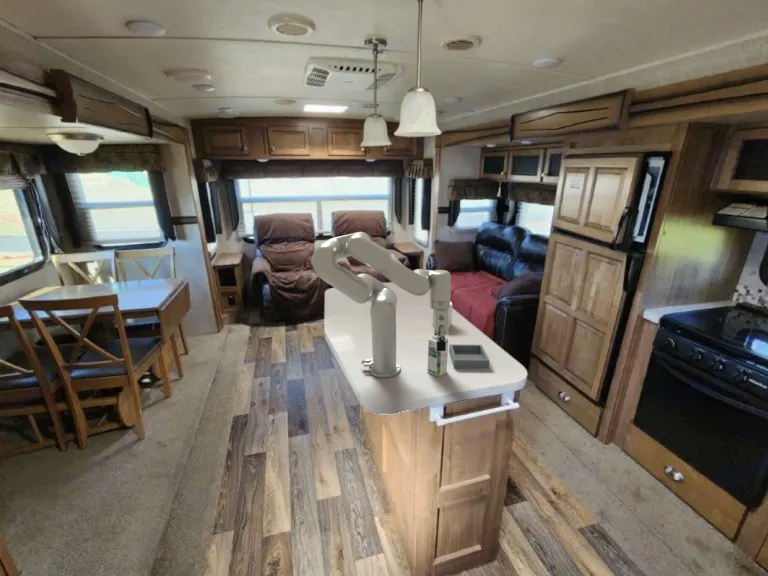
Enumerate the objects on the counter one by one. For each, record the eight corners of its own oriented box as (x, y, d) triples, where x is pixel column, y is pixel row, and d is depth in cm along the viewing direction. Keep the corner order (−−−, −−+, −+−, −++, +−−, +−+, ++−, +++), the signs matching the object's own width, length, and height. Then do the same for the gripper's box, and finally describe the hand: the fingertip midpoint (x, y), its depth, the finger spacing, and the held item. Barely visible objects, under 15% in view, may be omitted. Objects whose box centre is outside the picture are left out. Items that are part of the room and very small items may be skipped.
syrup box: (426, 372, 139) (427, 338, 135) (435, 366, 143) (437, 334, 138) (438, 377, 135) (439, 343, 131) (447, 371, 139) (448, 338, 135)
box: (453, 368, 141) (454, 360, 140) (449, 351, 155) (449, 344, 154) (488, 368, 141) (489, 360, 140) (481, 352, 154) (481, 344, 153)
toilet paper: (441, 319, 191) (441, 298, 188) (455, 324, 183) (456, 303, 180) (427, 323, 185) (428, 302, 182) (441, 329, 177) (442, 307, 174)
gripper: (453, 311, 122) (452, 355, 127) (447, 295, 138) (446, 335, 143) (431, 311, 122) (431, 355, 127) (428, 296, 139) (428, 335, 144)
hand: (439, 344), depth 135 cm, fingers open, 9 cm apart
